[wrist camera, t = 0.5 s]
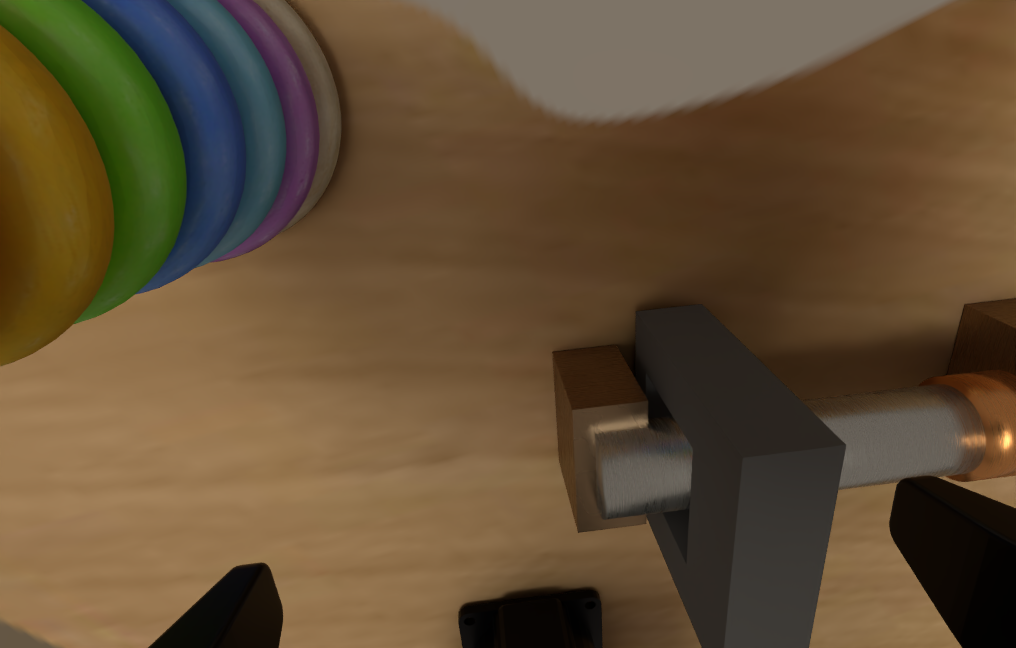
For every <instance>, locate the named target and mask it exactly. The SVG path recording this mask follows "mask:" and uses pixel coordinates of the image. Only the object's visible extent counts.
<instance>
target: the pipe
mask: <svg viewBox="0 0 1016 648" xmlns="http://www.w3.org/2000/svg"><path fill="white" fill-rule="evenodd" d="M553 369H554V385H555V402H556V418H557V435H558V451H559V463H560V466H561V470H562V474H563V478H564V482H565V485H566V489H567V493H568V497H569V500H570V504H571V508H572V512H573V516H574V519H575V523H576V527H577V531H578V533H579V532H587V531H595V530H603V529H610V528H618V527H626V526H634V525H642V524H646V514H654V513H662V512H670V511H677V510H685V509H690V492H691V473H692V455H693V448H692V447H691V445H690V443H689V442H688V440H687V439H686V437H685V435H684V434H683V432H682V430H681V429H680V427H679V426H678V424H677V422H676V421H675V419H674V418H673V416H669V417H660V418H652V419H648V400H647V398H646V396H645V394H644V393H643V391H642V389H641V387H640V386H639V384H638V382H637V381H636V379H635V377H634V375H633V374H632V372H631V370H630V368H629V367H628V365H627V363H626V361H625V360H624V358H623V356H622V354H621V353H620V351H619V349H618V347H617V346H616V345H610V346H602V347H593V348H584V349H576V350H567V351H558V352H553ZM801 401H802V402H803V403H804V404H805V405H806V406H807V407H808V408H809V409H810V410H811V411H812V412H813V413H814V414H815V415H816V416H817V417H818V418H819V419H820V420H821V421H822V422H823V423H824V424H825V425H826V426H827V427H829V428H830V429H831V430H832V431H833V432H834V433H835V434H836V435H837V436H838V437H839V438H840V439H841V440H842V441H843V442H844V443H845V444H846V450H845V456H844V461H843V466H842V472H841V477H840V482H839V488H838V490H842V489H850V488H857V487H865V486H873V485H881V484H889V483H897V482H900V480H902V479H904V478H909V477H916V476H924V475H930V476H935V477H944V476H946V477H948V478H950V479H952V480H956V481H961V482H969V481H976V480H984V479H992V478H1000V477H1007V476H1015V475H1016V299H1009V300H1001V301H992V302H983V303H975V304H966V305H965V307H964V311H963V315H962V319H961V323H960V327H959V331H958V335H957V338H956V342H955V346H954V350H953V354H952V358H951V362H950V366H949V370H948V374H947V375H946V376H938V377H932V378H928V379H926V380H924V381H923V382H922V383H921V384H920V385H919V386H917V387H909V388H900V389H892V390H884V391H875V392H867V393H859V394H851V395H842V396H834V397H826V398H818V399H809V400H801Z"/></svg>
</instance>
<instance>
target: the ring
mask: <svg viewBox="0 0 1016 648" xmlns="http://www.w3.org/2000/svg"><path fill="white" fill-rule="evenodd" d="M635 379H636V381H637V382H638V384H639V386H640V387H641V389H642V391H643V393H644V394H645V396H646V398H647V400H648V419H652V418H660V417H669V416H673V418H674V419H675V421H676V422H677V424H678V426H679V427H680V429H681V430H682V432H683V434H684V435H685V437H686V439H687V440H688V442H689V443H690V445H691V447H692V448H693V455H692V473H691V492H690V509H685V510H677V511H670V512H662V513H654V514H646V517H647V519H648V521H649V524H650V526H651V528H652V531H653V533H654V536H655V538H656V540H657V543H658V545H659V547H660V550H661V552H662V554H663V557H664V559H665V561H666V564H667V566H668V569H669V571H670V573H671V576H672V578H673V580H674V583H675V585H676V587H677V590H678V592H679V594H680V597H681V599H682V602H683V604H684V606H685V609H686V611H687V613H688V616H689V618H690V620H691V623H692V625H693V627H694V630H695V632H696V635H697V637H698V639H699V642H700V644H701V646H702V648H809V644H810V638H811V633H812V628H813V622H814V617H815V612H816V606H817V601H818V595H819V590H820V585H821V579H822V574H823V569H824V563H825V558H826V552H827V547H828V542H829V536H830V531H831V525H832V520H833V515H834V509H835V504H836V499H837V493H838V488H839V482H840V477H841V472H842V466H843V461H844V456H845V450H846V444H845V443H844V442H843V441H842V440H841V439H840V438H839V437H838V436H837V435H836V434H835V433H834V432H833V431H832V430H831V429H830V428H829V427H827V426H826V425H825V424H824V423H823V422H822V421H821V420H820V419H819V418H818V417H817V416H816V415H815V414H814V413H813V412H812V411H811V410H810V409H809V408H808V407H807V406H806V405H805V404H804V403H803V402H802V401H801V400H800V399H799V398H798V397H797V396H796V395H795V394H794V393H793V392H792V391H791V390H790V389H788V388H787V387H786V386H785V385H784V384H783V383H782V382H781V381H780V380H779V379H778V378H777V377H776V376H775V375H774V374H773V373H772V372H771V371H770V370H769V369H768V368H767V367H766V366H765V365H764V364H763V363H762V362H761V361H760V360H759V359H758V358H757V357H756V356H755V355H754V354H753V353H752V352H750V351H749V350H748V349H747V348H746V347H745V346H744V345H743V344H742V343H741V342H740V341H739V340H738V339H737V338H736V337H735V336H734V335H733V334H732V333H731V332H730V331H729V330H728V329H727V328H726V327H725V326H724V325H723V324H722V323H721V322H720V321H719V320H718V319H717V318H716V317H715V316H714V315H712V314H711V313H710V312H709V311H708V310H707V309H706V308H705V307H704V306H703V305H702V304H698V305H689V306H680V307H671V308H662V309H653V310H644V311H636V359H635Z"/></svg>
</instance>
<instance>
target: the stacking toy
mask: <svg viewBox="0 0 1016 648" xmlns="http://www.w3.org/2000/svg"><path fill="white" fill-rule="evenodd" d="M341 132H342V130H341V111H340V104H339V97H338V92H337V89H336V85H335V82H334V79H333V75H332V73H331V70H330V68H329V65H328V63H327V61H326V58H325V56H324V54H323V52H322V50H321V48H320V46H319V44H318V43H317V41H316V40H315V38H314V36H313V35H312V33H311V32H310V30H309V29H308V27H307V26H306V25H305V23H304V22H303V20H302V19H301V18H300V17H299V15H298V14H297V13H296V12H295V11H294V10H293V8H292V7H291V6H290V5H289V4H288V3H287V2H286V1H285V0H0V366H3V365H6V364H9V363H12V362H15V361H17V360H19V359H22V358H24V357H26V356H28V355H31V354H33V353H34V352H36V351H38V350H39V349H41V348H43V347H44V346H46V345H48V344H49V343H51V342H52V341H54V340H55V339H57V338H58V337H59V336H60V335H61V334H63V333H64V332H65V331H66V330H67V329H68V328H69V327H71V326H72V325H73V324H76V323H79V322H82V321H85V320H88V319H91V318H94V317H97V316H99V315H101V314H104V313H106V312H108V311H109V310H111V309H113V308H115V307H117V306H118V305H120V304H122V303H124V302H125V301H127V300H128V299H129V298H131V297H132V296H133V295H135V294H139V293H144V292H147V291H150V290H153V289H157V288H160V287H162V286H164V285H166V284H168V283H170V282H172V281H174V280H176V279H178V278H180V277H181V276H183V275H185V274H186V273H188V272H189V271H191V270H192V269H194V268H196V267H199V266H202V265H205V264H207V263H209V262H217V261H223V260H226V259H230V258H234V257H237V256H240V255H242V254H245V253H248V252H250V251H252V250H254V249H256V248H258V247H260V246H262V245H263V244H265V243H266V242H268V241H269V240H271V239H272V238H273V237H274V236H276V235H277V234H279V233H281V232H283V231H285V230H286V229H288V228H290V227H291V226H293V225H294V224H295V223H297V222H298V221H299V220H300V219H302V218H303V217H304V216H305V215H306V214H307V213H308V212H309V211H310V210H311V209H312V208H313V207H314V206H315V204H316V203H317V202H318V200H319V199H320V197H321V196H322V194H323V193H324V191H325V189H326V188H327V186H328V184H329V182H330V180H331V177H332V175H333V172H334V169H335V166H336V163H337V159H338V155H339V149H340V141H341Z"/></svg>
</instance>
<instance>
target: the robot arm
mask: <svg viewBox="0 0 1016 648" xmlns="http://www.w3.org/2000/svg"><path fill="white" fill-rule="evenodd" d="M889 527H890V532H891V536H892V538H893V540H894V542H895V544H896V545H897V547H898V548H899V550H900V552H901V553H902V555H903V556H904V558H905V560H906V561H907V563H908V564H909V566H910V567H911V569H912V571H913V572H914V574H915V575H916V577H917V579H918V580H919V582H920V583H921V585H922V586H923V588H924V590H925V591H926V593H927V594H928V596H929V597H930V599H931V601H932V602H933V604H934V605H935V607H936V609H937V610H938V612H939V613H940V615H941V616H942V618H943V620H944V621H945V623H946V624H947V626H948V627H949V629H950V630H951V632H952V633H953V635H954V636H955V638H956V639H957V641H958V642H959V644H960V645H961V646H962V648H1016V508H1013V507H1011V506H1008V505H1006V504H1003V503H1001V502H998V501H996V500H993V499H991V498H988V497H986V496H983V495H981V494H978V493H975V492H973V491H970V490H968V489H965V488H963V487H960V486H958V485H955V484H953V483H950V482H948V481H945V480H943V479H940V478H938V477H935V476H930V475H924V476H916V477H909V478H904V479H902V480H900V482H899V483H898V484H897V487H896V491H895V496H894V501H893V506H892V511H891V516H890V521H889ZM589 601H590V602H589ZM469 617H470V618H469ZM458 623H459V629H460V635H461V640H462V646H463V648H602V612H601V601H600V597H599V594H598V593H597V592H596V591H593V590H586V591H578V592H571V593H563V594H555V595H548V596H540V597H533V598H525V599H518V600H510V601H503V602H495V603H488V604H480V605H473V606H467V607H464V608H462V609H461V610H460V611H459V615H458ZM282 624H283V608H282V604H281V600H280V597H279V594H278V591H277V588H276V585H275V582H274V579H273V576H272V573H271V570H270V568H269V566H268V565H267V564H265V563H254V564H246V565H239V566H236V567H234V568H233V569H232V570H230V571H229V572H228V573H227V574H226V575H225V576H224V577H223V578H222V579H221V580H220V581H219V582H217V583H216V584H215V585H214V586H213V587H212V588H211V589H210V590H209V591H208V592H207V593H206V594H205V595H204V596H203V597H202V598H200V599H199V600H198V601H197V602H196V603H195V604H194V605H193V606H192V607H191V608H190V609H189V610H188V611H187V612H186V613H184V614H183V615H182V616H181V617H180V618H179V619H178V620H177V621H176V622H175V623H174V624H173V625H172V626H171V627H170V628H169V629H167V630H166V631H165V632H164V633H163V634H162V635H161V636H160V637H159V638H158V639H157V640H156V641H155V642H154V643H153V644H151V645H150V646H149V647H148V648H279V642H280V636H281V631H282Z"/></svg>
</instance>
